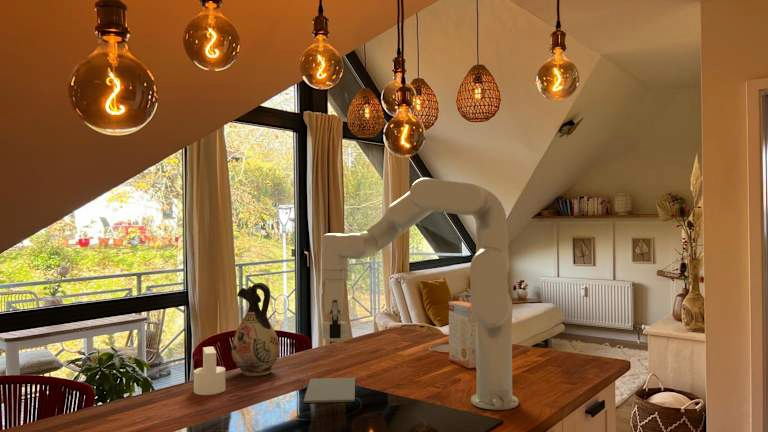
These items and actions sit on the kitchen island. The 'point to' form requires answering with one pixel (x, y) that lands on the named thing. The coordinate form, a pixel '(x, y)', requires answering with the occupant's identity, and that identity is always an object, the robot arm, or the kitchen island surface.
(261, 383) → the kitchen island surface
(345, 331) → the small box
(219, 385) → the cylinder with rectangular tab
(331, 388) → the mat
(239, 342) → the ceramic jug
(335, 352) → the kitchen island surface
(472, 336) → the cracker box
